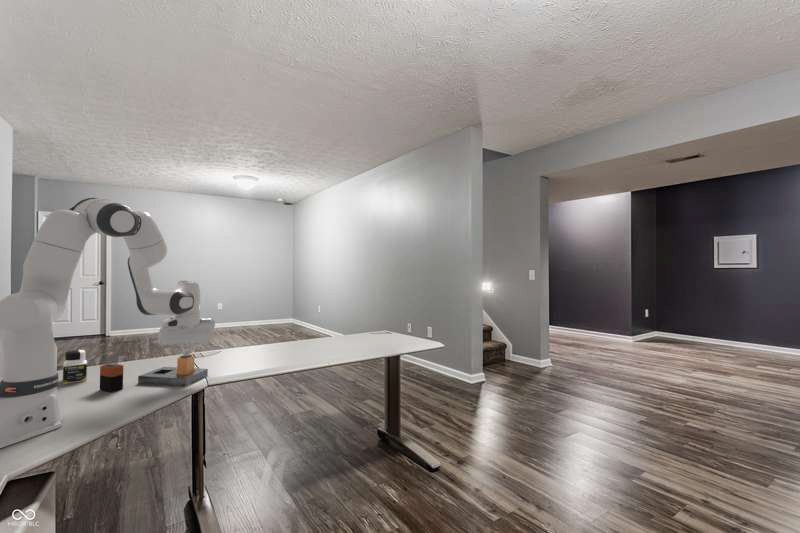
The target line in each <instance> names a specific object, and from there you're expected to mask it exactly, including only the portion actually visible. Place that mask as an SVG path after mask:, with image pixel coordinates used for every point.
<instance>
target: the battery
mask: <svg viewBox="0 0 800 533" xmlns="http://www.w3.org/2000/svg"><path fill="white" fill-rule="evenodd" d="M99 368H100V370H99V390H100V391H103V392H107V393H114V392H117V391H121V390H123V389H124V365H123V364H119V362H111V361H110V362H106V363H105V364H103V365H100V366H99Z"/></svg>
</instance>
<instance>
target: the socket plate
mask: <svg viewBox="0 0 800 533" xmlns="http://www.w3.org/2000/svg"><path fill="white" fill-rule="evenodd" d="M208 369H209V368H200V367H199V368H196V367H194V372H193V373H191V374H189V375H177V366H176V367H175V366H163V367H159V368H157V369H154V370H151V371H149V372H146V373H145V372H144V373H143V374H140V375H138V377H137V384H140V385H159V386H174V385H187V386H189V385H188V384H190V383H192V382H194V381H196V380H198V381H200V380H202V379H204V378H207V377H208V374H209V373H208V372H209V370H208ZM201 378H202V379H201ZM199 379H200V380H199ZM196 382H197V381H196ZM194 383H195V382H194ZM192 384H193V383H192ZM190 385H191V384H190Z"/></svg>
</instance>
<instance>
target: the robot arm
mask: <svg viewBox="0 0 800 533" xmlns="http://www.w3.org/2000/svg"><path fill="white" fill-rule="evenodd" d="M94 234H99V235H103V236H109V237H113V238H114V237H115V238H121V237H122V238H123V239H124V241H125V244H126V246H127V248H128V252H129V257H128V258H127V267H128V268H127V269H128V273H129V275H130V280H131V283H132V286H133V289H134V292H135V299H136V300H135V301H136V307H137V309H138V311H139V312H140V313H141V314H143V315H145V316H157V315H161V316H162V315H164V316H168V315H169V316H170V315H171V317H169V318H165V319H163V320H162V321H161V325H162V326H161V328H160V329H159V330H158V336H157V344H158V345H159V346H161V347H165V346H173V345H174V346H175V345H179V346H180V348H181V350H182V355H185V354H192V350H193V348H194V347H195V345H196V343H200V342H203V343H204V342H210V341H214V339H215V338H216V335H215V327H216V322H215V320H214V319H213V318H201V311H200V304H201V289H200V288H201V287H200V285H199V283H198V282H196V281H193V280H180V281H179V280H178V282H177V285H176V286H174V287H172V288H171V289H158V288H155V287H154V286H153V282H152V279H151V275H150V272H149V271H150V270H149V269H150V268H152V267H154V266H156V265H158V264H159V263H160V262H162V261H163V260H165V258H166V256H167V254H168V247H167V242H166V241H165V238H164V236H163V234H162V231H161V230H160V228H159V226H158V224H157V223H156V221H155V219H154V218H153V217H152V215H151V214H150V213H148V212H146V211H143V210H142V211H141V210H133V209H132V208H130V207H129V206H127V205H125V204H123V203H118V202H116V201H114V200H111V199H110V200H109V199H106V198H105V199H104V198H98V197H97V198H96V197H88V198H84V199H82V200H80V201H78V202H77V203H75V204H74V206H72V207H71V208H69V209H56V210H54V211H51V212H50V213H49V214H48V216H47V217H46V218H45V219H44V221H43V223H42V224H41V226H40V227H39V229H38V230H37V232H36V235H35V237H34V240H33V241H32V243H31V246H30V249H29V250H28V253H27V255H26V258H25V260H24V262H23V264H22V270H23V272H22V273H23V274H22V281H21V286H20V289H19V292H14V293H11V294H9V295H6V296H5V297H4V298H2V299H0V344H1V348H2V379H1V380H0V449H2V448H6V447H7V446H10V445H14V444H16V443H19V442H22V441H25V440H28V439H30V438H34V437H37V436H40V435H42V434H45V433H48V432H50V431H53V430H56V429H59V428H61V427H62V422H63V416H62V413H61V409H60V405H59V404H60V403H59V399H58V398H59V397H58V390H57V387H58V386H59V381H60V379H59V373H58V372H57V371H58V370H57V367H58V366H57V365H58V346H57V344H56V342H55V337H54V333H53V326H52V325H53V323H54V322H56V321H57V320H58V319H60V317H62V315H63V314H64V312H65V311H66V310H65V309H66V305H67V301H68V297H69V293H70V289H71V284H72V280H73V277H74V274H75V271H76V269H77V266H78V264H79V261H80V259H81V257H82V255H83V254H82V253H83V251H84V250H85V246H86V243H87V241H88V240H89V239H90V237H91V236H93V235H94ZM185 344H189V345H190V346H189V347H188V348H185Z"/></svg>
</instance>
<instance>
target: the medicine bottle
mask: <svg viewBox="0 0 800 533" xmlns="http://www.w3.org/2000/svg"><path fill="white" fill-rule="evenodd" d="M64 357H65V360H64V361H65V362H63V364H62V384H63V385H66V384H74V383H82V382H87V381H88V379H87V378H88V360H86V350H84V349H73V350H68V351H66V352H65V356H64Z"/></svg>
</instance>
